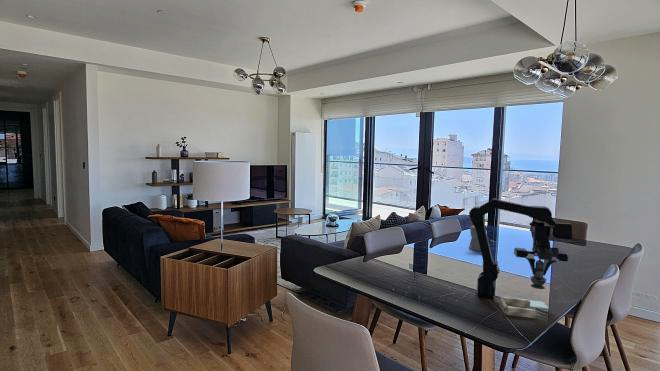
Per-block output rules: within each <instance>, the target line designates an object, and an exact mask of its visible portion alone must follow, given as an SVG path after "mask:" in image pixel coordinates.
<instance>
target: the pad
mask: <svg viewBox="0 0 660 371" xmlns="http://www.w3.org/2000/svg"><path fill="white" fill-rule="evenodd" d="M528 300H529V301H530V309H532V308H535V309H538V310H539V309H540V310H549V309H550V308H549V306H548V305H546V303H545V302H544V301H540V300H532V299H528Z"/></svg>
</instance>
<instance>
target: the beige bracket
mask: <svg viewBox="0 0 660 371" xmlns="http://www.w3.org/2000/svg"><path fill="white" fill-rule="evenodd" d="M529 300H530V299H526V298H517V297H516V298H515V297H508V296H498V301H497V302H498V304H497V305H498V306H499V308H500V309H501V311H502V313H503V315H507V316H514V317H521V318H522V317H523V318H529V319H530V318H532V319H537V317H538V316H537V315H538V310H537V308H530V301H529Z"/></svg>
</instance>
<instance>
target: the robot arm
mask: <svg viewBox="0 0 660 371" xmlns="http://www.w3.org/2000/svg"><path fill="white" fill-rule="evenodd" d="M495 209H497V210H502V211H504V212H505V211H506V212H511V213H515V214H519V215H524V216H527V217H529V218H532V219H533V220H532V221H531V222H529V226H531V227H534V228H533V237H532V247H531V250H528V249H526V248H524V247H515V248H514V249H513V255H514V256H515V257H516V258H525V260H527V261H528V263H529V266H530V269H531V272H532V276H534V274H535V265H536V259H535V257H537V258H538V260H539V259H541V261H542V260H543V263H544V265H543V269H544V271H543V277H544V276H546V274H547V272H548V270H549V268H550V267H551V265H552V264H554V263H557V260H558V261H559V262H569V256H568V254H567V253H566V252H564V251H560V250H559V248H558V247H551V241H550V240H551V239H550V236H551V237H553V238H554V240H561V241H570V242H571V241H572V239H573V224H572V223H571V222H570V223H568V222H567V223H566V222H556V220H555V219H554V218H553V214H552V211H551V210H550V208H549V207H547V206H545V205H544V206H543V205H525V204H520V203H515V202H511V201H507V200H504V199H503V200H502V199H498V198H492V199H491V200H488V201H487V202H485V203H484V204H482V205H480V206H479V205H477V206H473V207H472V208H471V209H470V210H469V213H468V216H469V218H470V221H471V224H472V226H474V227H475V229H476V233H477V237H478V241H479V245H480V250H481V251H480V253H481V257H482V272H480V273H479V275H478V277H477V280H476V281H477V282H476V291H475V294H476V296H477V297H476V298H483V299H492V300H493V299H495V298H494V297H495V289H496V288H495V285H494V282H495V281H496V280H497V279H498V277H499V274H500V271H501V269H500V267H499V261H498V260H496V261H495V260H494V258H493V255H492V252H491V251H492V250H491V246H490V242H489V238H488V233H487V231H486V229H485V226H486V214H488V213H490V212H491V211H493V210H495ZM545 223H546V224H545ZM556 259H557V260H556Z"/></svg>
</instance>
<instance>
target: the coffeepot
mask: <svg viewBox="0 0 660 371" xmlns="http://www.w3.org/2000/svg"><path fill="white" fill-rule="evenodd" d="M485 229H486V232H487V230H488V227H487V225H485ZM469 230H470V237H471V239H470V241H469V247H468V249H469V250H471V251H475V252H481V250H480V245H479V241H478V237H477V233H476V229H475V227H474V225H470V227H469Z"/></svg>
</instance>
